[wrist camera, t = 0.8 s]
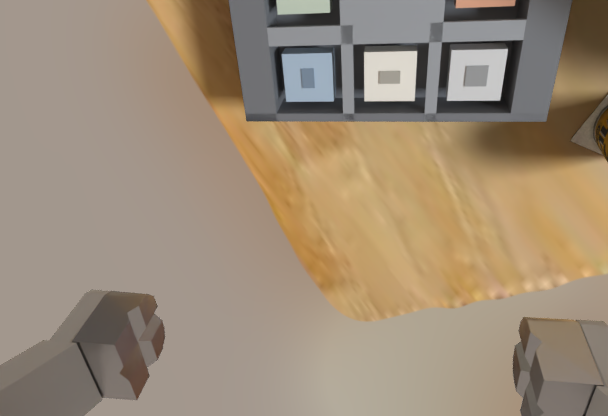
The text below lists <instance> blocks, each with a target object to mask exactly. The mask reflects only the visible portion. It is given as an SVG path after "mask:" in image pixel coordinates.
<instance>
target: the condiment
mask: <svg viewBox="0 0 608 416" xmlns="http://www.w3.org/2000/svg"><path fill="white" fill-rule="evenodd" d="M571 142H574V143H576V144H578V145H580V146H583V147H585V148H587V149H590V150H592V151H594V152H596V153H599V154H601V155H603V156H604V157H605V159H606V160H607V162H608V95H607V96H606V98H605V99H604V100H603V101H602V102H601V103H600V104H599V106H598V107H597V108H596V109H595V111H594V112H593V113H592V114H591V115H590V117H589V118H588V119H587V120H586V121H585V122H584V124H583V125H582V126H581V128H580V129H579V130H578V131H577V132H576V134H575V135H574V136H573V138H572V139H571Z"/></svg>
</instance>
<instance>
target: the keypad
mask: <svg viewBox="0 0 608 416" xmlns="http://www.w3.org/2000/svg"><path fill="white" fill-rule="evenodd" d="M571 4H572V0H516V1H515V6H502V7H475V8H455V5H454V0H332V10H331V12H330V13H310V14H283V15H278V12H277V2H276V0H229V7H230V13H231V20H232V27H233V33H234V40H235V47H236V54H237V60H238V67H239V74H240V80H241V87H242V94H243V101H244V107H245V114H246V121H403V122H546V120H547V116H548V111H549V106H550V102H551V97H552V92H553V88H554V83H555V78H556V74H557V69H558V64H559V60H560V55H561V50H562V46H563V41H564V36H565V32H566V27H567V22H568V18H569V13H570V8H571ZM481 43H505V44H506V46H507V48H508V53H507V60H506V66H505V72H504V79H503V85H502V92H501V98H500V101H447V98H446V85H447V74H448V62H449V51H450V44H481ZM399 45H417V67H416V85H415V101H364V50H365V46H399ZM317 47H334V60H335V85H336V96H335V99H334V101H333V102H286V94H285V84H284V73H283V63H282V53H283V51H284V49H285V48H317Z"/></svg>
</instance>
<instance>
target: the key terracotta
mask: <svg viewBox="0 0 608 416" xmlns="http://www.w3.org/2000/svg"><path fill="white" fill-rule="evenodd" d="M515 1H516V0H454V5H455V8H475V7H502V6H515Z"/></svg>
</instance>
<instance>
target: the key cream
mask: <svg viewBox="0 0 608 416" xmlns="http://www.w3.org/2000/svg"><path fill="white" fill-rule="evenodd" d="M416 67H417V45H399V46H365V50H364V101H415V85H416Z"/></svg>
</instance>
